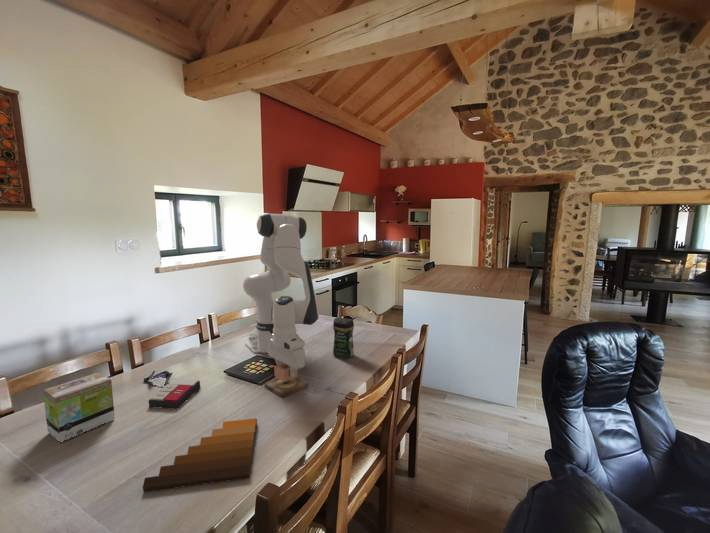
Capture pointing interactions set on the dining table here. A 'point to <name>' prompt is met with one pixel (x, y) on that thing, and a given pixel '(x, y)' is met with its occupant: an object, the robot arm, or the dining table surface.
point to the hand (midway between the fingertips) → (286, 372)
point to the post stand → (286, 386)
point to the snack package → (162, 374)
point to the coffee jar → (343, 338)
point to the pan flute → (211, 458)
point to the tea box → (78, 405)
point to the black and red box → (174, 393)
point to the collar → (283, 372)
